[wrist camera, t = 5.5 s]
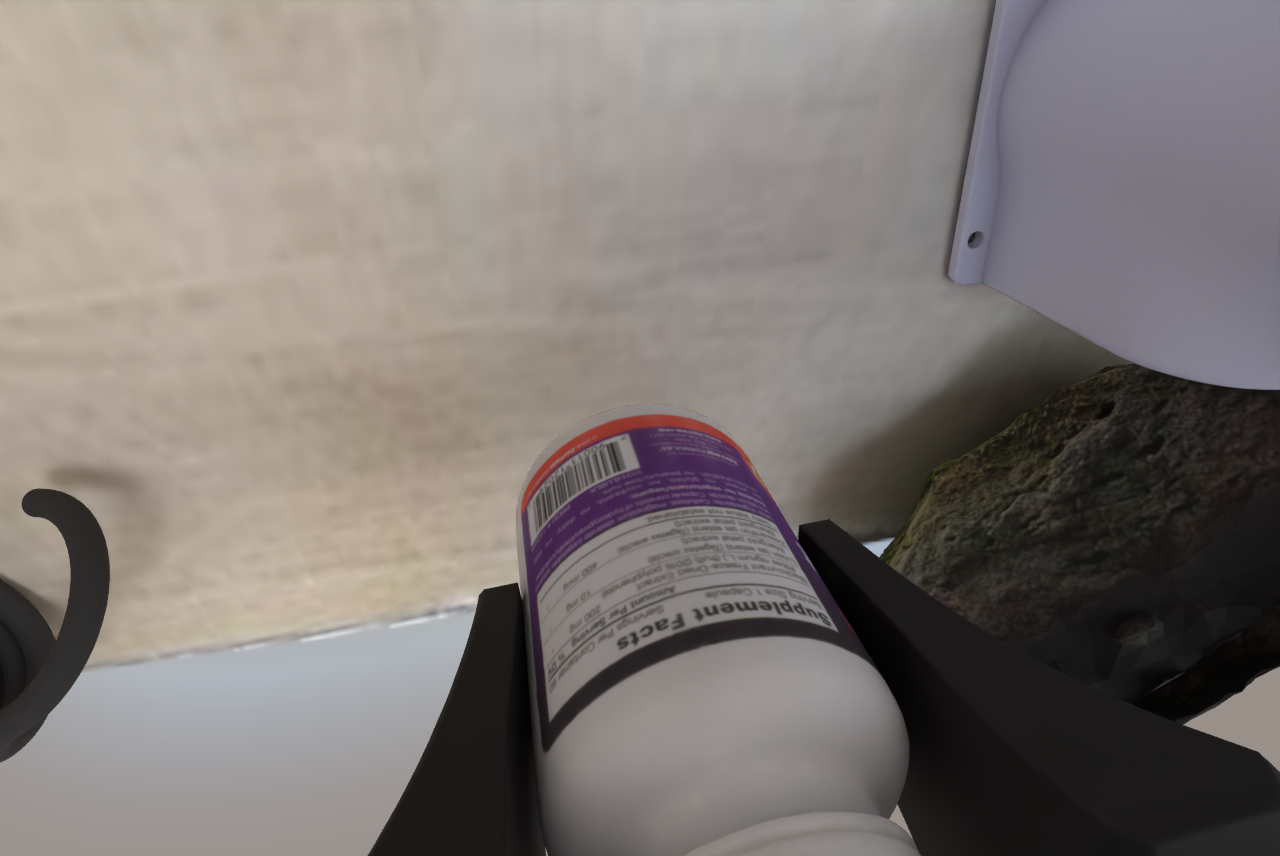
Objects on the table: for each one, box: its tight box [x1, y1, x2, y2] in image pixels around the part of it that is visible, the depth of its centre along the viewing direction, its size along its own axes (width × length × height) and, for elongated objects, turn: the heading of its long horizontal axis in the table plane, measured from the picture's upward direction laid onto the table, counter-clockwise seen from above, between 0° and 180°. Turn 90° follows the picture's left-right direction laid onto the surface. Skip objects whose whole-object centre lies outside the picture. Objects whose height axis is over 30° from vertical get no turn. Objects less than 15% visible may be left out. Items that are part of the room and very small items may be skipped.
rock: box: [879, 364, 1280, 725], centre depth 24 cm, size 18×20×10 cm
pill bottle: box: [516, 404, 921, 856], centre depth 11 cm, size 5×5×10 cm
